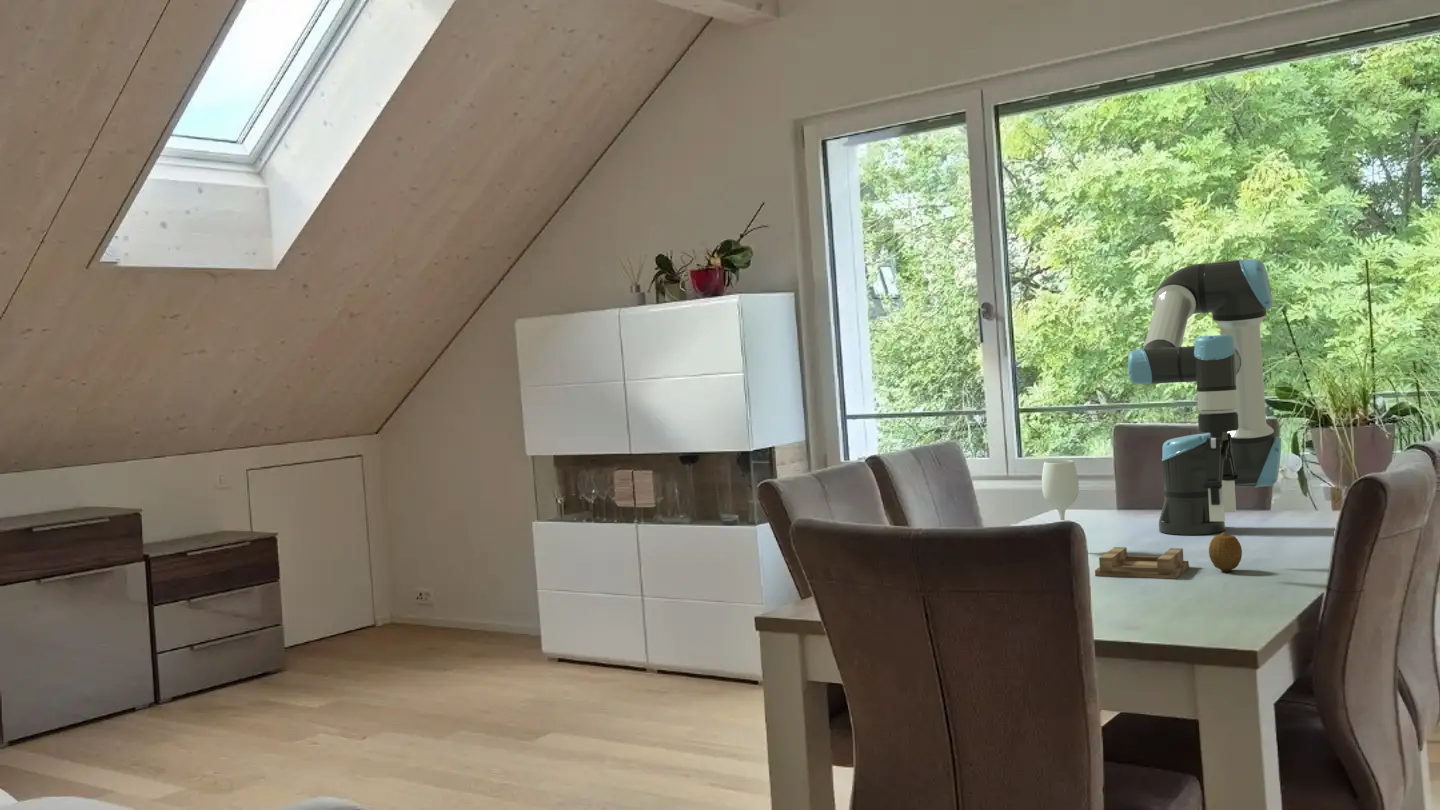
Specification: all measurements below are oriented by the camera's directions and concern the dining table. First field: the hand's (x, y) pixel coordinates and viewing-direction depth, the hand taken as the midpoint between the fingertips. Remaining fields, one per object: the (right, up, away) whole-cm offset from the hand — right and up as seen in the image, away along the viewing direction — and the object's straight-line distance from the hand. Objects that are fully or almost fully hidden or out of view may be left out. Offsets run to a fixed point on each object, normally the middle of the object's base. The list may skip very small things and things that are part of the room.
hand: (1223, 516), depth 252 cm
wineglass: (-22, -12, +36) cm, 44 cm away
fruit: (+1, -11, +1) cm, 11 cm away
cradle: (-14, -12, +7) cm, 20 cm away
